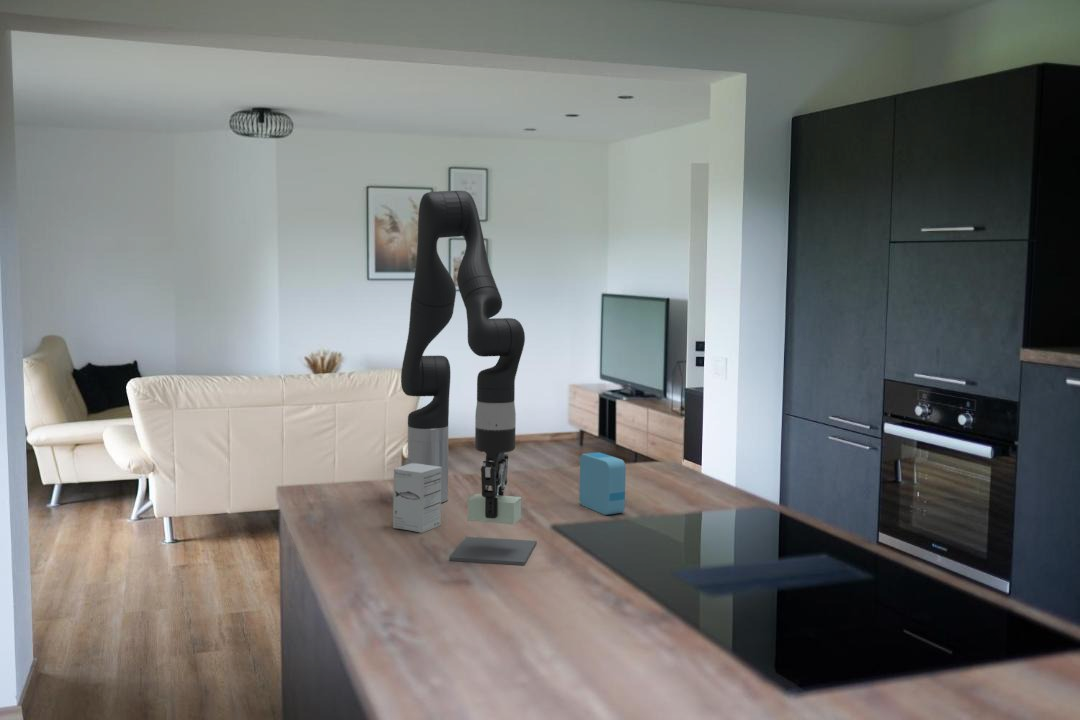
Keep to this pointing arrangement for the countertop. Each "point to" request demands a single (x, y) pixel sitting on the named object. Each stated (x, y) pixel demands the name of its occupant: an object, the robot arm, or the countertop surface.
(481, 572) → the countertop surface
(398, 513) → the supplement box
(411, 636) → the countertop surface
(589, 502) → the blue box
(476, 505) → the box
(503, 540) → the mat
